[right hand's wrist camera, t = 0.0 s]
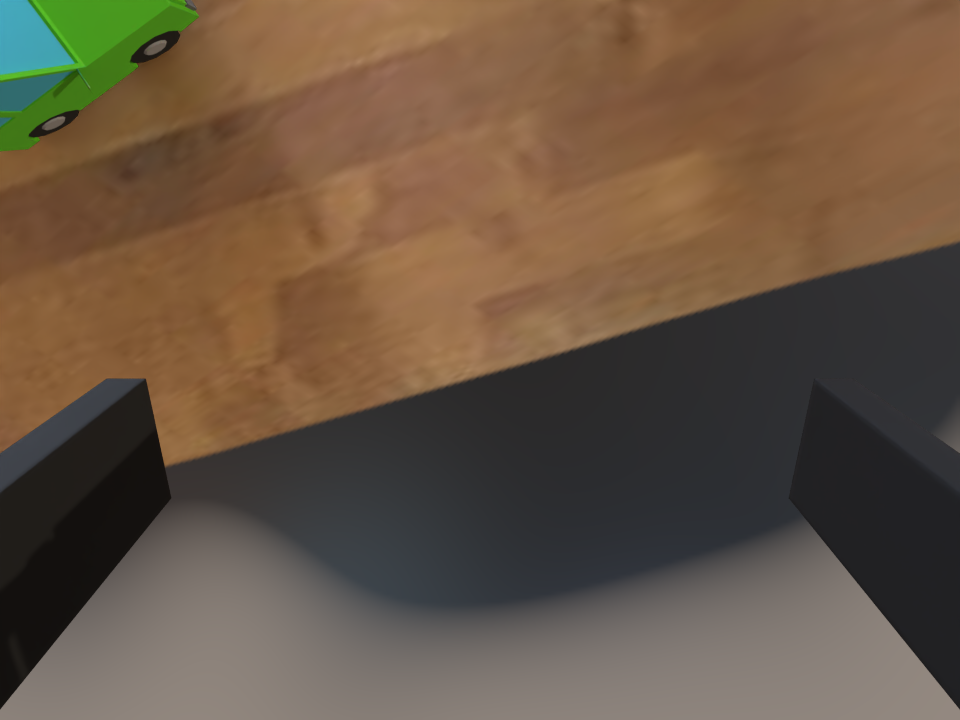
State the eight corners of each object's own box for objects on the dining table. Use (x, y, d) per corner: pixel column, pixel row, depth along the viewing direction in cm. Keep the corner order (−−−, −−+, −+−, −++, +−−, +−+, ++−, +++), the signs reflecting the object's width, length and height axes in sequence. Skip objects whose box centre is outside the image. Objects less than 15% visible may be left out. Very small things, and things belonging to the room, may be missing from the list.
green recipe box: (228, 36, 35) (136, 7, 25) (54, 164, 37) (-89, 179, 28) (100, -158, 31) (-60, -273, 22) (-82, -5, 34) (-294, -50, 25)
